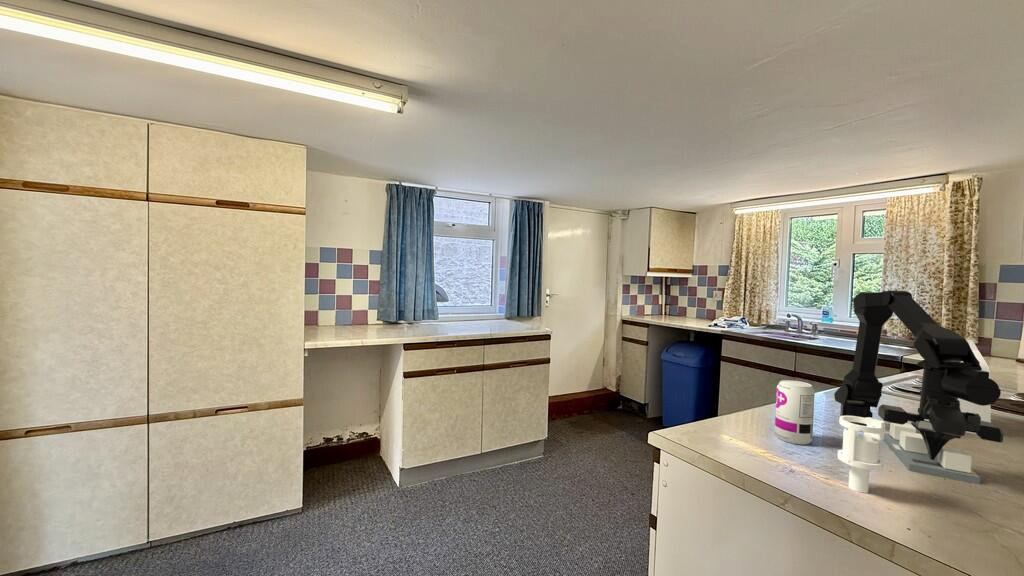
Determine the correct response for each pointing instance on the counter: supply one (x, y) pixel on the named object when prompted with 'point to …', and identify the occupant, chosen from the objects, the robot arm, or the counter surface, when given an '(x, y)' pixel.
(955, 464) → the near tab
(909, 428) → the cream cube
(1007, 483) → the counter surface
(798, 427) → the supplement can
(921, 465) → the switch bank
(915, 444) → the middle tab
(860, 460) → the white cylindrical holder
